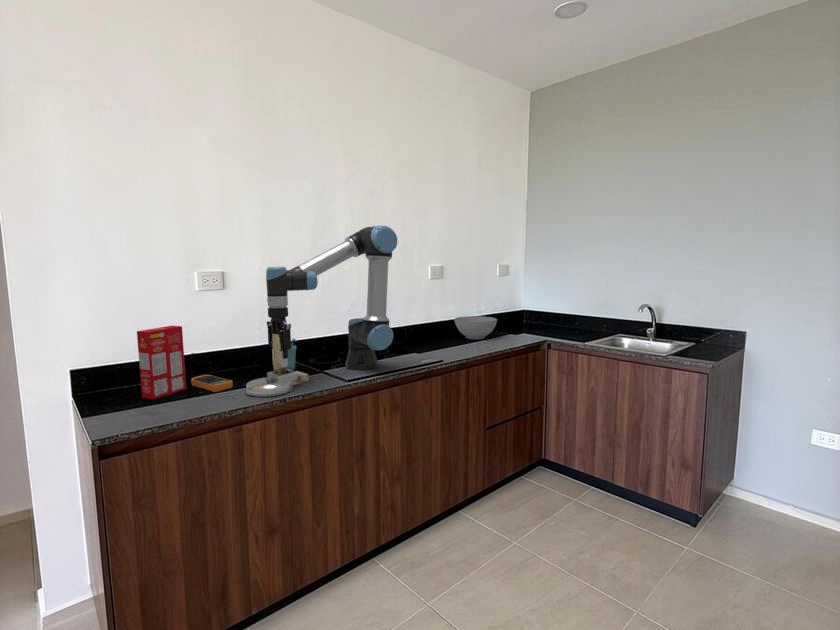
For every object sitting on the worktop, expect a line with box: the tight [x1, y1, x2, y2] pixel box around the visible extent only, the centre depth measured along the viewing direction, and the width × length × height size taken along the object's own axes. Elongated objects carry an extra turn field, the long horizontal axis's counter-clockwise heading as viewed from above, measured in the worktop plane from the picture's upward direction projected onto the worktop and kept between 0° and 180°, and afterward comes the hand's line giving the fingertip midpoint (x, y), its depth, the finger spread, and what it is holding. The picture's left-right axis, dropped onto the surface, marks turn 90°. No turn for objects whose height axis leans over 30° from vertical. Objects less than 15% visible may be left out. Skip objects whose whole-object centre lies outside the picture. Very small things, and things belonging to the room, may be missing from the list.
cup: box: [287, 338, 299, 371], centre depth 210 cm, size 14×8×15 cm, turn 48°
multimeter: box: [190, 374, 234, 393], centre depth 184 cm, size 9×18×3 cm, turn 55°
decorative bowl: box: [453, 315, 498, 340], centre depth 291 cm, size 27×27×12 cm
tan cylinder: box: [272, 333, 287, 375], centre depth 180 cm, size 5×5×18 cm
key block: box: [292, 370, 309, 386], centre depth 191 cm, size 8×8×3 cm
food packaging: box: [136, 325, 187, 401], centre depth 173 cm, size 15×5×25 cm, turn 159°
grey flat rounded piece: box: [245, 369, 297, 398], centre depth 178 cm, size 18×17×6 cm
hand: (280, 365), depth 181 cm, fingers closed on tan cylinder, 5 cm apart
